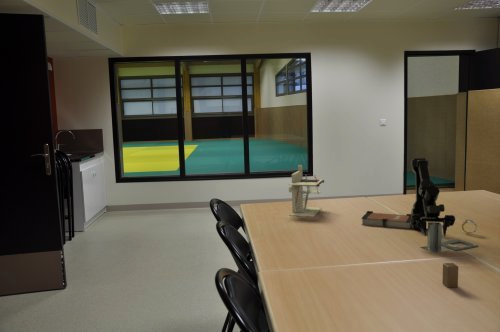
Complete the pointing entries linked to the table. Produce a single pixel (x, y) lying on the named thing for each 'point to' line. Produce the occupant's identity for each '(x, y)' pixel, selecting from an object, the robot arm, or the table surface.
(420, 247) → the grey square plate
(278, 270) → the table surface
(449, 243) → the rail plate
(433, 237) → the grey clip
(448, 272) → the wooden block
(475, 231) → the ring
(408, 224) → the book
